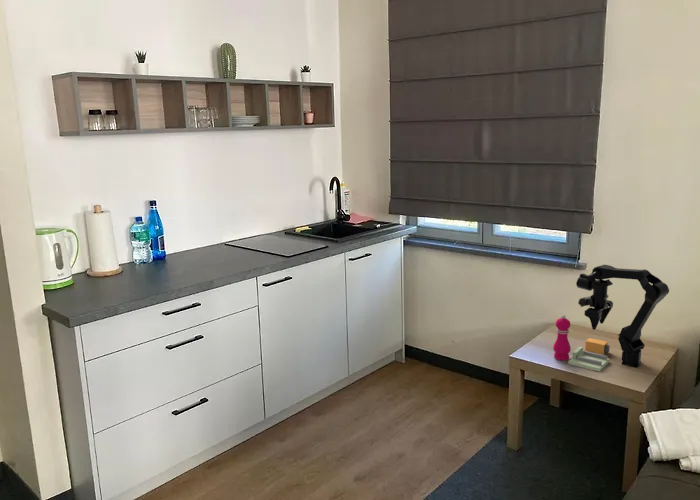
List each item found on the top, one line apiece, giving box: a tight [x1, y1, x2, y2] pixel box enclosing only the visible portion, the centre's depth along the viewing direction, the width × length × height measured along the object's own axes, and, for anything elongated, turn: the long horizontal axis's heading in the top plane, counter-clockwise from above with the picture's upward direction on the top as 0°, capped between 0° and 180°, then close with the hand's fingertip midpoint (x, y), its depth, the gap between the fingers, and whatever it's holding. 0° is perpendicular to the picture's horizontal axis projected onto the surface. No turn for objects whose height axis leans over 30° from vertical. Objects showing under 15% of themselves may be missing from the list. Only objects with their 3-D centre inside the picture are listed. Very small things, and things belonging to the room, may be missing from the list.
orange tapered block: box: [584, 337, 611, 355], centre depth 262 cm, size 9×4×5 cm, turn 49°
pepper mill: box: [553, 314, 572, 362], centre depth 256 cm, size 7×7×20 cm
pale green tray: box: [567, 346, 610, 372], centre depth 251 cm, size 13×12×4 cm
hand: (597, 326), depth 261 cm, fingers open, 9 cm apart
